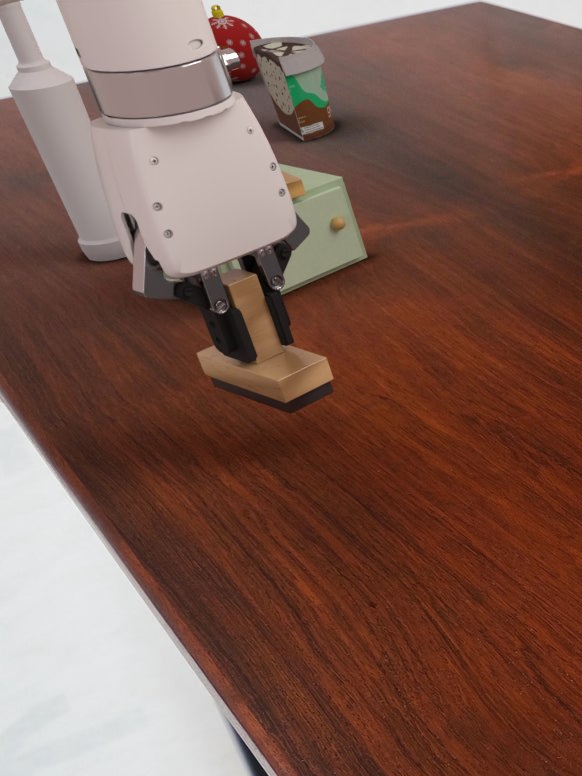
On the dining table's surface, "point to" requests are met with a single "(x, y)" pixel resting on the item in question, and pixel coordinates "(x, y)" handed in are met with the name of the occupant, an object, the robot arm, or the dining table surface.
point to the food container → (295, 84)
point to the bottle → (61, 137)
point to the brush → (265, 356)
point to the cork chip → (294, 185)
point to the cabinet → (318, 231)
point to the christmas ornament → (235, 42)
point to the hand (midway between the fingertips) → (258, 347)
